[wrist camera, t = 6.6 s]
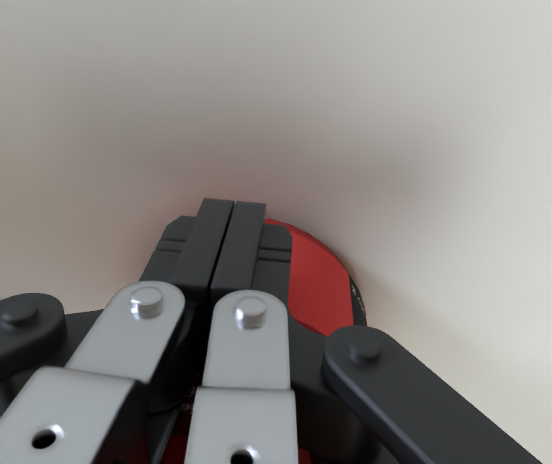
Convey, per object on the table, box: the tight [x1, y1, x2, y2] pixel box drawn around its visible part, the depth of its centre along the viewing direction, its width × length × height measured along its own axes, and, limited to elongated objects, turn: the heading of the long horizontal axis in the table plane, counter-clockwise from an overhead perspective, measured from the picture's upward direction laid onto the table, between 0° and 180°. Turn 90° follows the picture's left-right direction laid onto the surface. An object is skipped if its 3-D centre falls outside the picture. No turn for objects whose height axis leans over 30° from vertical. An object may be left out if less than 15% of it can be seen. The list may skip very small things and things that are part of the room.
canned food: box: [165, 218, 367, 464], centre depth 13 cm, size 8×8×11 cm
